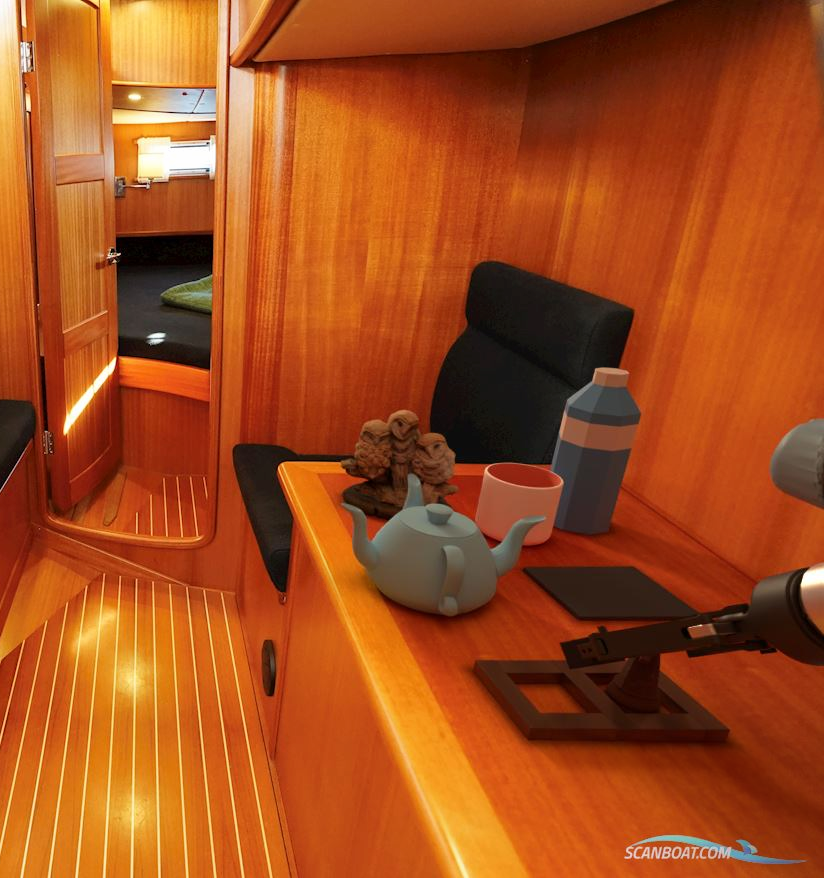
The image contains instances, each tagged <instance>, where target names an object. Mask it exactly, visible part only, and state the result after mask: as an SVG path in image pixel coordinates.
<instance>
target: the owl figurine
mask: <svg viewBox="0 0 824 878" xmlns="http://www.w3.org/2000/svg"><path fill="white" fill-rule="evenodd" d="M419 427H420V419H419V417H418V416H417V414H416V413H415V412H413V411H410V410H407V409H400V410H397V411H396V412H393V413H392V414H390V415H389V417H388V419H387V422H384V421H382V420H381V419H373V420H369V421H366V422H365V423H364V424H363V425H362V428H361V431H360V434H359V439H358V442H357V443H356V444H355V445H354V447H355V452H354V455H353V456H354V459H353V458H348V459H345V460H340V467H341V468H342V469H343V470H344V472H345V473H346V474H347V475H349V476H350V477H353V478H358V479H364V481H362V482H358V483H355V484H352V485H351V486H348V487H346V488H345V489H344V490H343V492H342V499H343V502H344V503H345V504H349V505H352V506H355V507H357V508H359V509H360V510H361V511H363V513H364V514H368V515H369V516H373V515H374V514H375V513H376V516H377V517H378V518H380V519H385V520H388V521H389V520H390V519H391V518H393V517H394V516H395V515H396V514H397V513H399V512H400V511H402V509H403V507H404V504H405V502H406V499H407V495H408V475H409V474H414V475H416V476H417V477H418V479H419V480H420V483H421V488H422V495H423V503H424V506H426V505H428V504H442V505H445V506H448V507H450V508H452V506H451V504H450V503H448V501H447V500H446V497H447V496H453V495H454V494H458V492H459V486H456V485H454V484H451V483H449V482H448V481H450V480H451V478H452V477H453V476H454V474H455V466H456V462H455V459H456V456H457V455H456V453H455V452H454V451H453V450H452V449H451V448H449V446H448V443H447V441H446V438H445V436H444V435H443V434H441V433H438V432H437V433H436V432H427V433H423V434H422V433H421V432H420V430H419V429H418V428H419ZM375 509H376V510H377V512H376V511H375ZM452 509H453V508H452Z"/></svg>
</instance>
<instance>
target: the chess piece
mask: <svg viewBox="0 0 824 878" xmlns="http://www.w3.org/2000/svg"><path fill="white" fill-rule="evenodd" d="M657 623H658V621H654V622H653V624H657ZM626 660H627V662H626V664H625V665H624V667H623V669H622V671H621V673H620V674H617V675H615V676H614V679H613V681H611V682H610V683H609V684H607V686H606V688H605V690H604V691H603V692H604V693H605V694H606V695H607V696H608V697H609V698H610V699H611V700H612V701H613V702H614V703H615V704H616V705H617V706H618V707H619V708H620V709H621V710H622V711H623V712H624V713H625V714H626V713H641V714H660V712H661V707H662V704H661V701H660V698H659V696H660V690H659V689H658V687H657V686H658V681H659V671H660V669H661V654H657V655H649V656H642V657H634V658H627V659H626Z"/></svg>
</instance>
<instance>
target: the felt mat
mask: <svg viewBox="0 0 824 878" xmlns="http://www.w3.org/2000/svg"><path fill="white" fill-rule="evenodd" d="M522 571H523V572H524V573H525V574H526V575H527V576H528V577H530V578H531V579H532V580H533V581H534V582H535V583H536V584H538V585H539V587H541V588H542V589H543V590H544V591H545V592H546V593H547V594H549V595H550V596H551V597H552V598H553V599H554V600H555V601H557V603H559V604H560V605H561V606H562V607H563V608H565V609H566V610H567V611H568V612H569V613H570V614H571V615H572V616H574V618H576V619H577V620H578V621H675V620H680V619H685V618H688V617H689V616H690V615H692V614H698V613H700V612H699V611H698V610H696V609H695V608H693V607H692V606H691V605H690V604H688V603H686V602H685V601H683V600H682V599H681V598H679V597H677V596H676V595H675V594H673V593H672V592H670V591H669V590H668V589H666V588H665V587H663V586H662V585H661V584H659V583H657V582H656V581H655V580H654V579H652V578H651V577H649V576H648V575H646V574H645V573H644V572H642V571H641V570H639V569H638V568H637V567H635V566H523V568H522Z"/></svg>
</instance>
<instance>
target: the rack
mask: <svg viewBox="0 0 824 878" xmlns="http://www.w3.org/2000/svg"><path fill="white" fill-rule="evenodd" d="M625 660H626V661H620V662H614V663H608V664H601V665H595V666H589V667H583V668H577V669H569V666H568V664H567V661H566V659H560V660H559V659H552V660H551V659H549V660H548V659H547V660H546V659H499V660H498V659H475V660H474V662H473V663H474V664H473V669H472V672H473V673H474V674H475V675H476V677H477V678H478V679H479V680H480V682H481V683H482V684H483V685H484V687H485V689H487V690H488V692H489V693H490V694H491V695H492V697H493V698H494V699H495V701H497V703H498V704H499V705H500V706H501V708H502V709H503V710H504V711H505V713H506V714H507V715H508V717H509V718H510V719H511V720H512V721H513V723H514V724H515V725H516V727H518V729H519V730H520V732H521V733H522V734H523V735H524V737H525V738H526V739H527V740H528V741H529V740H531V741H532V740H535V741H536V740H537V741H629V742H630V741H631V742H632V741H637V742H640V741H641V742H642V741H643V742H647V741H648V742H727V740H728V737H729V734H730V733H731V729H730V727H728V726H727V725H725V724H724V722H722V721H721V720H719V719H718V717H716V716H715V715H714V714H712V713H711V712H710V710H708V709H707V708H706V707H704V706H703V705H702V704H701V703H700V702H698V701H697V700H696V699H695V698H694V697H692V696H691V695H690V694H689V693H687V691H686V690H684V689H683V688H682V687H681V686H679V685H678V684H677V683H676V682H675V681H674V680H673V679H672V678H670V677H669V676H668V675H667V674H666V673H664V672H663V671H662V670H660V671H659V681H658V686H657V687H658V689H659V690H660V696H659V698H660V701H661V706H663V707H664V708H665V709H666V710H667V711H669V712H670V713H659V714H641V713H626V714H625V713H624V712H623V711H622V710H621V709H620V708H619V707H618V706H617V705H616V704H615V703H614V702H613V701H612V700H611V699H610V698H609V697H608V696H607V695H606V694H605V693H604V692H605V691H603V690H602V689H601V688H600V687H599V686H598V685H608V684H609V683H610V682H611V681H613V679H614V676H615V675H617V674H620V673H621V671H622V669H623V667H624V665H625V664H626V662H627V660H628V659H625ZM517 684H561V686H562V687H563V688H564V689H565V690H566V691H567V692H568V693H569V694H570V695H571V696H572V698H574V699H575V700H576V701H577V702H578V703H579V705H580V706H581V707H583V709H584V710H585V711H586V712H540V711H539V710H538V709H537V707H536V706H535V705H534V704H533V703H532V701H530V699H529V698H528V697H527V696H526V694H524V692H523V691H522V690H521V689H520V688H519V686H518V685H517Z"/></svg>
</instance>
